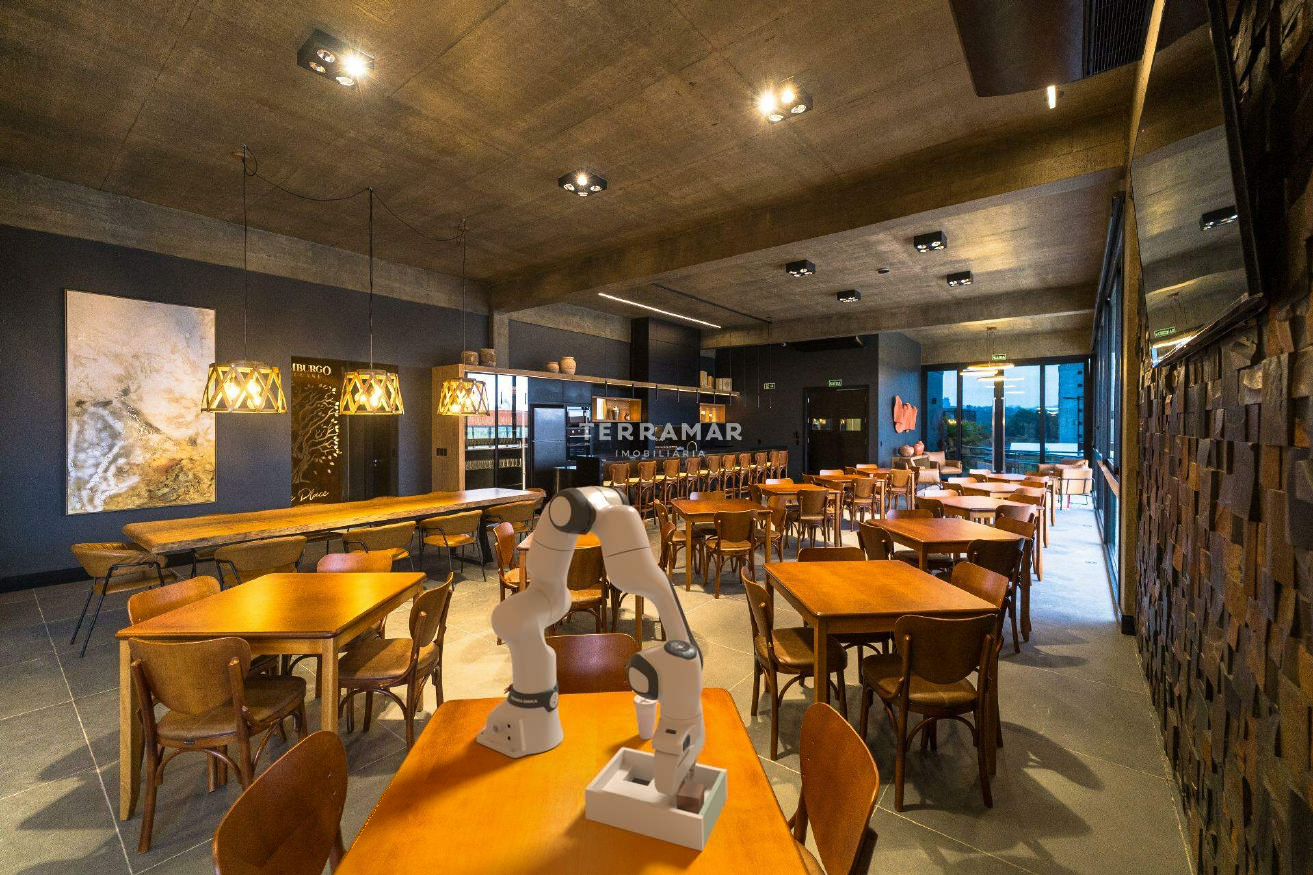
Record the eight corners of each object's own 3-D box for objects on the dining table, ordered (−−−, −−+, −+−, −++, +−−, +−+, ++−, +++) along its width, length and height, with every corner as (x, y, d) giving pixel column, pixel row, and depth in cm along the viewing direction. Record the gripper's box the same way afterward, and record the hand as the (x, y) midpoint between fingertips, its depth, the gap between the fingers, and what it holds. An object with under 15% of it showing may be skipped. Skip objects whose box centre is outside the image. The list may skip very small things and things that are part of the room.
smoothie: (639, 744, 144) (638, 689, 144) (630, 732, 150) (629, 679, 150) (662, 738, 147) (661, 684, 147) (652, 727, 152) (652, 674, 152)
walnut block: (676, 817, 112) (676, 794, 112) (682, 803, 116) (682, 781, 116) (699, 821, 110) (699, 798, 110) (704, 807, 115) (704, 784, 115)
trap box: (585, 818, 116) (585, 788, 116) (622, 772, 132) (622, 746, 132) (702, 851, 107) (701, 819, 107) (727, 797, 122) (726, 769, 122)
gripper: (684, 698, 128) (685, 760, 128) (647, 744, 110) (648, 816, 110) (711, 703, 126) (712, 766, 126) (678, 751, 107) (679, 824, 107)
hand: (682, 790), depth 118 cm, fingers open, 8 cm apart
